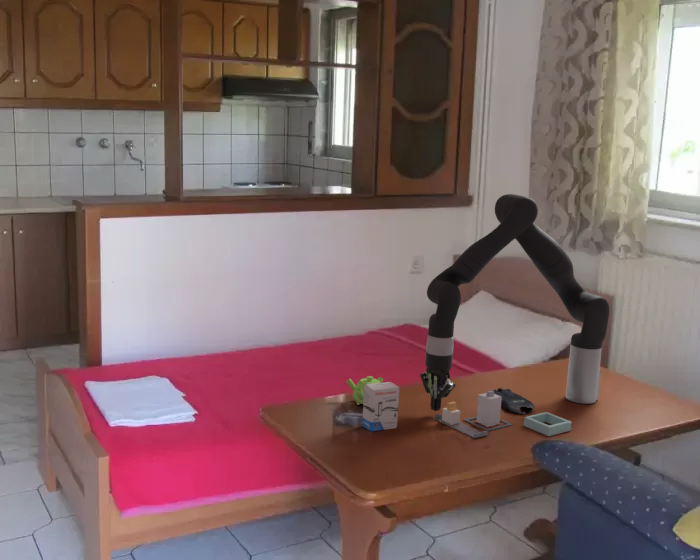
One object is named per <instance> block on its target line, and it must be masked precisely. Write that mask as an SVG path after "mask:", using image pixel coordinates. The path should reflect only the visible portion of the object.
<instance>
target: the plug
mask: <svg viewBox="0 0 700 560" xmlns="http://www.w3.org/2000/svg"><path fill="white" fill-rule="evenodd" d="M477 397H478V398H477V399H478V400H477V411H476V416H477V419H476V423H477V424H479V425H481V426H482V425H483V426H484V427H486V428H487V427H488V428H489V426H490V427H493V426H498V425H500V422H501V421H500V419H501V411H502V410H501V409H502V405H501V400H502V397H501V396H499V395H496V394H494V391H492V390H488V391H486V392H485V393H479V394H478V395H477ZM497 424H498V425H497Z"/></svg>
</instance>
